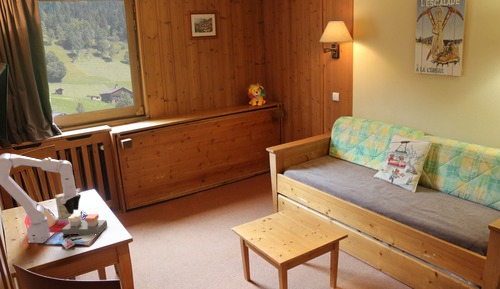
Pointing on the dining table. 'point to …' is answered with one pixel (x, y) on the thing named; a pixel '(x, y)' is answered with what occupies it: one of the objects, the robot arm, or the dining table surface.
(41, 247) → the dining table surface
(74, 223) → the cream cube block
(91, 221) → the terracotta plunger
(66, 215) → the skincare box
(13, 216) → the dining table surface
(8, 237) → the dining table surface
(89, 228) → the panel
